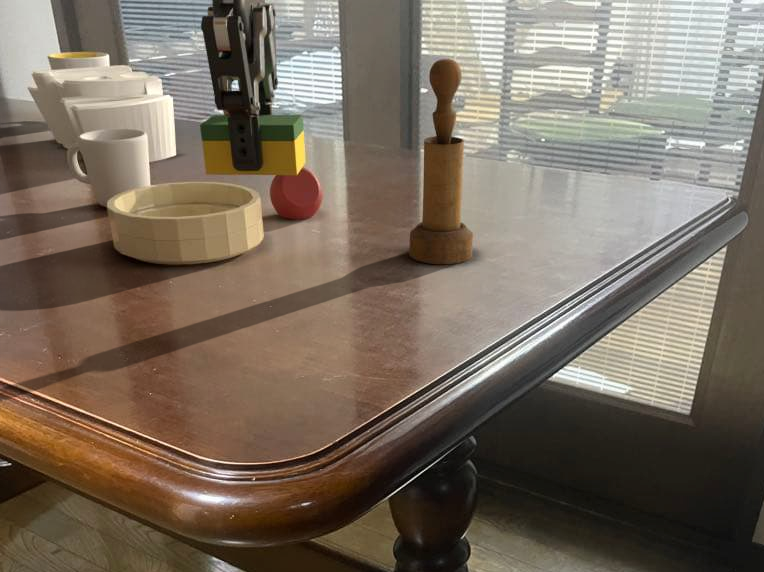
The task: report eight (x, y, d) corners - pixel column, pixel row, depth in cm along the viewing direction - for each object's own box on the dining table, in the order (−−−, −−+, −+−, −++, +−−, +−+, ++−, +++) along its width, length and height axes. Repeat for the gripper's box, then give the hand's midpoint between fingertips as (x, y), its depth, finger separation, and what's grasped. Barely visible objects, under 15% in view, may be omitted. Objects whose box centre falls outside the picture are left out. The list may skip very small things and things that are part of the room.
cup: (58, 208, 107) (42, 137, 103) (96, 193, 113) (83, 125, 109) (134, 215, 104) (122, 142, 100) (169, 199, 110) (159, 130, 106)
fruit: (318, 226, 108) (304, 159, 107) (331, 211, 102) (316, 141, 101) (270, 232, 106) (255, 164, 105) (281, 217, 100) (265, 146, 99)
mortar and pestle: (447, 268, 87) (453, 65, 77) (396, 257, 91) (395, 60, 80) (484, 253, 92) (494, 58, 82) (434, 242, 95) (437, 54, 85)
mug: (126, 122, 156) (115, 55, 150) (67, 127, 152) (53, 58, 146) (107, 111, 166) (96, 48, 160) (52, 115, 162) (38, 51, 156)
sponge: (205, 174, 67) (199, 124, 65) (219, 162, 70) (213, 114, 68) (297, 175, 66) (293, 125, 64) (305, 162, 70) (302, 114, 68)
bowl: (94, 266, 88) (84, 217, 85) (141, 224, 101) (134, 180, 98) (247, 269, 87) (242, 219, 85) (275, 226, 100) (271, 182, 97)
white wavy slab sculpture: (193, 166, 126) (183, 84, 120) (76, 178, 120) (59, 92, 114) (133, 127, 152) (122, 58, 146) (34, 136, 145) (18, 64, 139)
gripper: (199, -107, 64) (227, 144, 74) (141, -116, 53) (183, 183, 62) (301, -107, 64) (315, 145, 74) (265, -117, 52) (288, 184, 62)
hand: (255, 161), depth 68 cm, fingers closed on sponge, 4 cm apart
